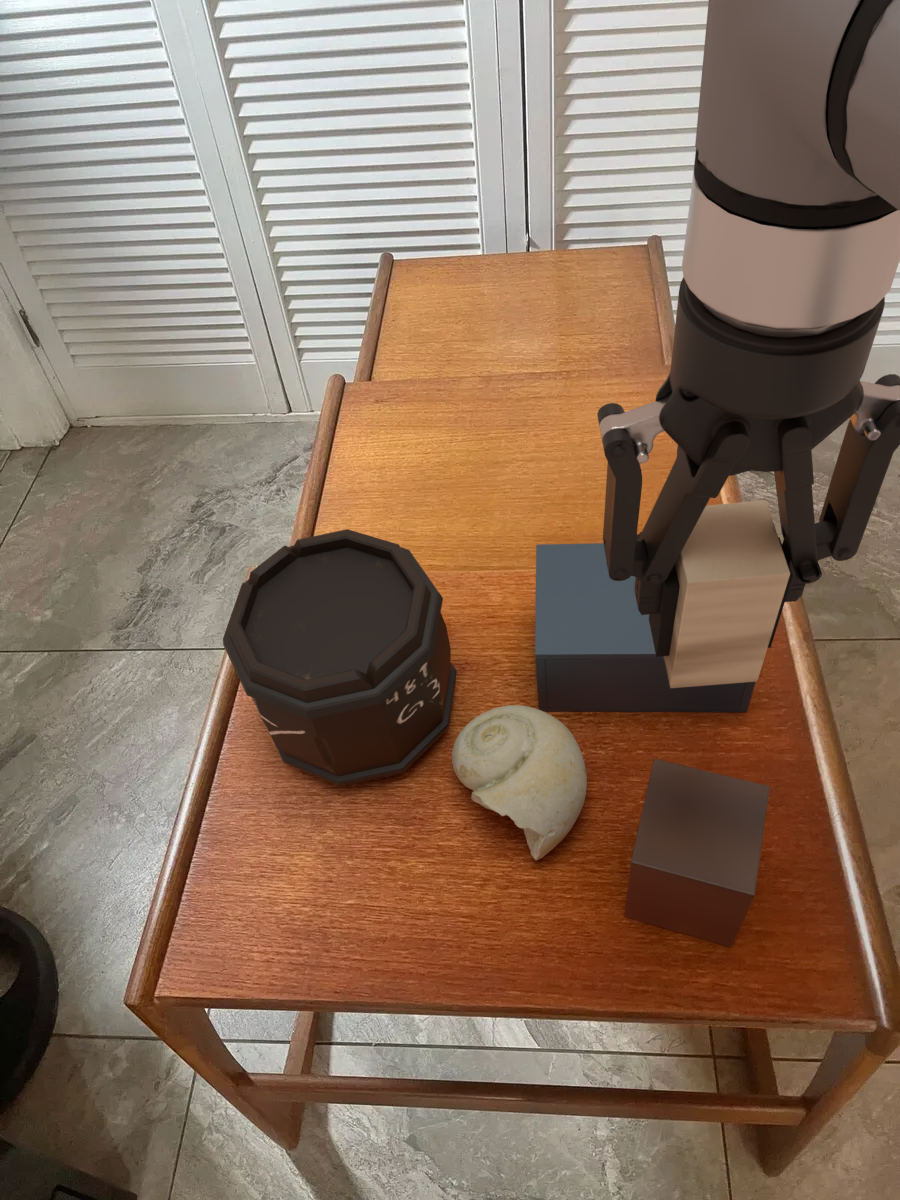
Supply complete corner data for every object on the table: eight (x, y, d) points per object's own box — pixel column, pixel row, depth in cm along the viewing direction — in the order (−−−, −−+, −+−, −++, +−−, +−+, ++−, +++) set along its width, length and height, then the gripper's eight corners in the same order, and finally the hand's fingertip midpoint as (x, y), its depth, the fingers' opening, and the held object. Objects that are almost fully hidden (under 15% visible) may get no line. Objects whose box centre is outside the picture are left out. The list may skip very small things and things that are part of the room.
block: (757, 681, 52) (790, 573, 44) (670, 688, 53) (687, 582, 45) (738, 612, 55) (766, 499, 47) (655, 619, 56) (669, 508, 48)
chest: (539, 614, 87) (536, 559, 81) (732, 612, 85) (745, 555, 78) (538, 711, 81) (535, 660, 74) (747, 712, 78) (762, 659, 72)
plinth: (731, 948, 67) (754, 895, 58) (623, 916, 69) (630, 862, 60) (746, 848, 71) (770, 785, 62) (645, 821, 73) (654, 758, 65)
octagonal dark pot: (289, 622, 90) (244, 515, 78) (468, 631, 87) (450, 520, 75) (240, 788, 79) (178, 694, 67) (442, 804, 76) (415, 709, 64)
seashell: (426, 719, 73) (535, 661, 74) (445, 753, 80) (545, 699, 80) (499, 861, 66) (618, 795, 67) (513, 884, 73) (621, 824, 74)
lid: (536, 549, 81) (536, 544, 80) (744, 545, 79) (745, 540, 78) (535, 659, 74) (534, 654, 73) (762, 658, 72) (764, 653, 71)
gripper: (990, 199, 36) (848, 569, 54) (534, 251, 37) (547, 595, 55) (1075, 313, 31) (888, 674, 50) (552, 368, 32) (559, 700, 51)
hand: (708, 632), depth 52 cm, fingers closed on block, 5 cm apart
